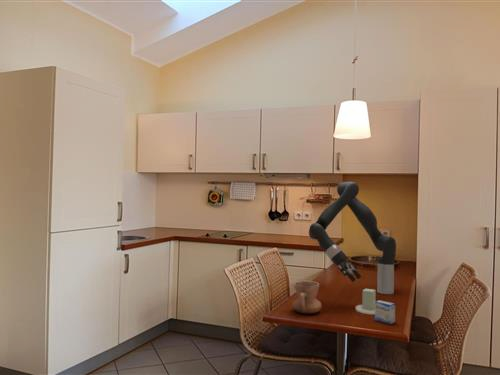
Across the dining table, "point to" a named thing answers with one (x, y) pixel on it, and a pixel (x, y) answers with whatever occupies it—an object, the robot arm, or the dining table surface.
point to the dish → (365, 310)
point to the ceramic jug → (306, 297)
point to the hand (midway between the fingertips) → (357, 279)
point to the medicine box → (385, 311)
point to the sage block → (368, 299)
